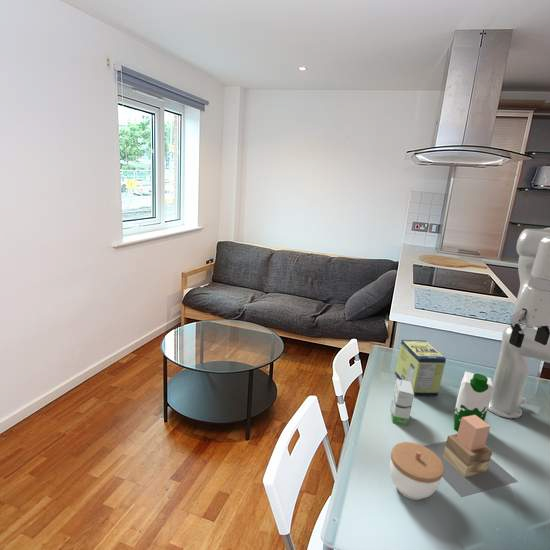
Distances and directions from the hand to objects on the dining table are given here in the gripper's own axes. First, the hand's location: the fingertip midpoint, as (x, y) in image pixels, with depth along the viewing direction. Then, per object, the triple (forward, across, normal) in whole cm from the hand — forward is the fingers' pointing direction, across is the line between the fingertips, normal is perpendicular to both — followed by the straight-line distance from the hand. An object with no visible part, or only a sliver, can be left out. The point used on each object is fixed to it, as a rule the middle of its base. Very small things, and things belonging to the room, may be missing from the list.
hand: (527, 344), depth 104 cm
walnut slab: (+32, +13, +1) cm, 35 cm away
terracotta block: (+29, +13, +1) cm, 32 cm away
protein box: (+37, -2, -38) cm, 53 cm away
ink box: (+36, +18, -22) cm, 46 cm away
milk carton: (+36, -1, -12) cm, 38 cm away
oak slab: (+36, +13, +1) cm, 38 cm away
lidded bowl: (+36, +34, +4) cm, 50 cm away
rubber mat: (+36, +13, +1) cm, 38 cm away
